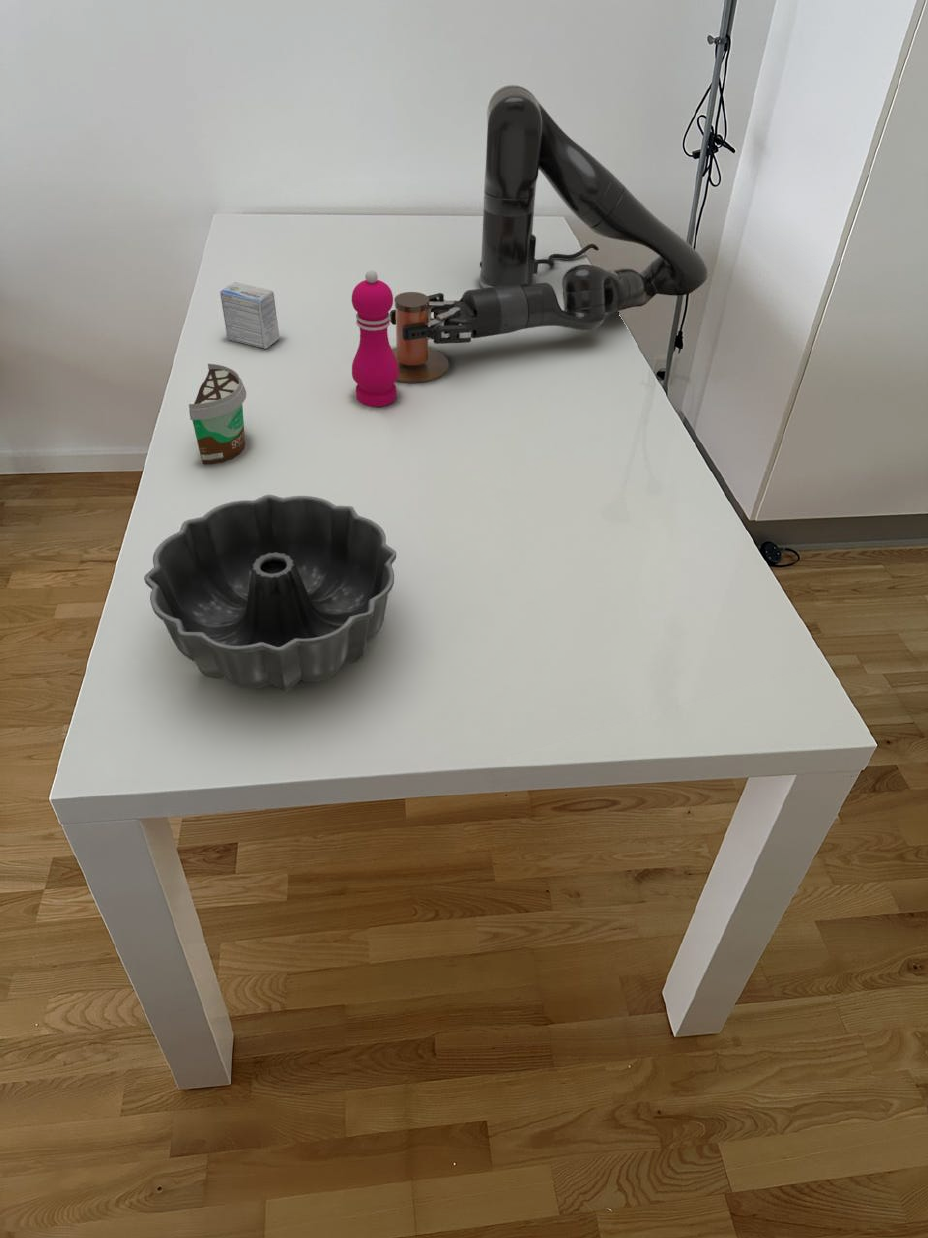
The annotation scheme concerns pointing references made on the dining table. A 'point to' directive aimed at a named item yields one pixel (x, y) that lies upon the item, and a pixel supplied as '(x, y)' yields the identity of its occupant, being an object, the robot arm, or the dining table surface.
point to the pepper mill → (374, 343)
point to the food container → (219, 415)
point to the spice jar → (410, 312)
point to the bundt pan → (273, 589)
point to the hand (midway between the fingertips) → (396, 325)
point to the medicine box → (250, 315)
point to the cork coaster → (423, 368)
